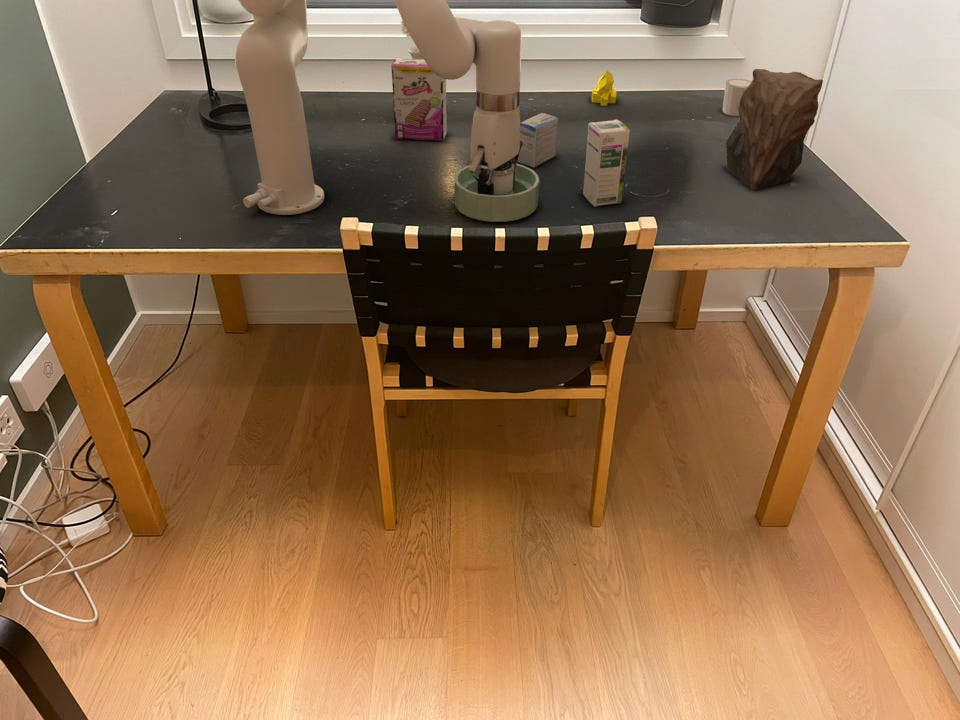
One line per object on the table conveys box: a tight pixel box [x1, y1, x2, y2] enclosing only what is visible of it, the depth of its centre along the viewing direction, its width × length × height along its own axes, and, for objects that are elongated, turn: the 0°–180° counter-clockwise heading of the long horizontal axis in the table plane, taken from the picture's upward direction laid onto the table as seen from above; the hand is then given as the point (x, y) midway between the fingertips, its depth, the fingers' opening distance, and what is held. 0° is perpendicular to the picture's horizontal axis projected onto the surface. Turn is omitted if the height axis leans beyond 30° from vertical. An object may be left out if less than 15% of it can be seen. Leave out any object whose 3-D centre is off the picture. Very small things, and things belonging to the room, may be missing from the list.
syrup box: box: [582, 119, 631, 208], centre depth 139 cm, size 6×6×14 cm
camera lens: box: [483, 161, 514, 195], centre depth 139 cm, size 6×6×8 cm
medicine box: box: [517, 112, 559, 168], centre depth 156 cm, size 8×4×9 cm, turn 141°
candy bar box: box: [391, 58, 448, 142], centre depth 164 cm, size 11×5×16 cm, turn 84°
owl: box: [725, 68, 824, 192], centre depth 147 cm, size 13×13×20 cm
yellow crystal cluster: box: [591, 69, 617, 107], centre depth 186 cm, size 6×8×8 cm
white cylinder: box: [722, 78, 752, 117], centre depth 180 cm, size 7×7×7 cm
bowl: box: [453, 163, 540, 223], centre depth 140 cm, size 16×16×6 cm
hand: (496, 194), depth 140 cm, fingers closed on camera lens, 6 cm apart
